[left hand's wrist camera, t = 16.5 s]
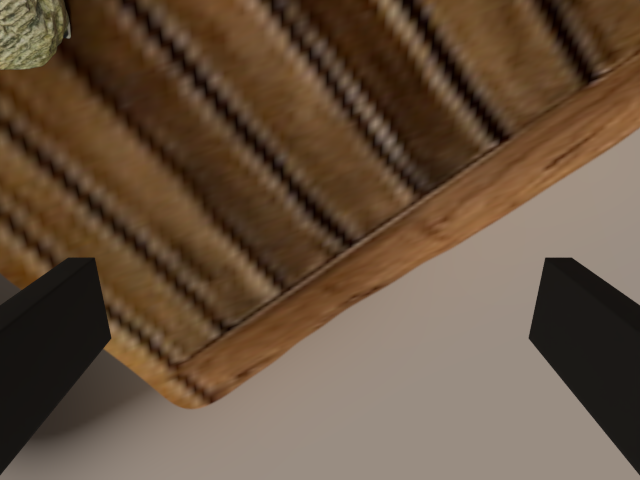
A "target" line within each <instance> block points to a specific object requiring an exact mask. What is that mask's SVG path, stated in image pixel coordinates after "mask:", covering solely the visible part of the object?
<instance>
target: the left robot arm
mask: <svg viewBox="0 0 640 480" xmlns="http://www.w3.org/2000/svg"><path fill="white" fill-rule="evenodd" d="M110 339H111V334H110V329H109V324H108V320H107V315H106V310H105V305H104V300H103V296H102V291H101V286H100V281H99V276H98V271H97V267H96V262H95V258H67V259H66V260H64V261H63V262H61V263H60V264H59V265H57V266H56V267H54V268H53V269H51V270H50V271H49V272H47V273H46V274H44V275H43V276H41V277H40V278H39V279H37V280H36V281H34V282H33V283H31V284H30V285H29V286H27V287H26V288H24V289H23V290H21V291H20V292H19V293H17V294H16V295H14V296H13V297H12V298H10V299H9V300H7V301H6V302H4V303H3V304H2V305H0V475H1V474H2V472H3V471H4V470H5V469H6V467H7V466H8V465H9V464H10V463H11V461H12V460H13V459H14V458H15V456H16V455H17V454H18V453H19V451H20V450H21V449H22V448H23V446H24V445H25V444H26V443H27V442H28V440H29V439H30V438H31V437H32V435H33V434H34V433H35V432H36V431H37V429H38V428H39V427H40V425H41V424H42V423H43V422H44V421H45V419H46V418H47V417H48V416H49V414H50V413H51V412H52V411H53V410H54V408H55V407H56V406H57V405H58V403H59V402H60V401H61V400H62V399H63V397H64V396H65V395H66V393H67V392H68V391H69V390H70V389H71V387H72V386H73V385H74V384H75V382H76V381H77V380H78V379H79V378H80V376H81V375H82V374H83V373H84V371H85V370H86V369H87V368H88V366H89V365H90V364H91V363H92V362H93V360H94V359H95V358H96V357H97V355H98V354H99V353H100V352H101V350H102V349H103V348H104V347H105V346H106V344H107V343H108V342H109V341H110ZM529 339H530V341H531V342H532V343H533V344H534V346H535V347H536V348H537V349H538V350H539V352H540V353H541V354H542V355H543V357H544V358H545V359H546V360H547V362H548V363H549V364H550V365H551V366H552V368H553V369H554V370H555V371H556V373H557V374H558V375H559V376H560V378H561V379H562V380H563V381H564V383H565V384H566V385H567V386H568V387H569V389H570V390H571V391H572V392H573V394H574V395H575V396H576V397H577V399H578V400H579V401H580V402H581V403H582V405H583V406H584V407H585V408H586V410H587V411H588V412H589V413H590V415H591V416H592V417H593V418H594V419H595V421H596V422H597V423H598V424H599V426H600V427H601V428H602V429H603V430H604V432H605V433H606V434H607V435H608V437H609V438H610V439H611V440H612V442H613V443H614V444H615V445H616V447H617V448H618V449H619V450H620V451H621V453H622V454H623V455H624V456H625V458H626V459H627V460H628V461H629V463H630V464H631V465H632V466H633V467H634V469H635V470H636V471H637V472H638V474H639V475H640V305H638V304H637V303H636V302H634V301H633V300H631V299H630V298H628V297H627V296H626V295H624V294H623V293H621V292H620V291H619V290H617V289H616V288H614V287H613V286H611V285H610V284H609V283H607V282H606V281H604V280H603V279H601V278H600V277H599V276H597V275H596V274H594V273H593V272H591V271H590V270H589V269H587V268H586V267H584V266H583V265H581V264H580V263H579V262H577V261H576V260H574V259H573V258H545V262H544V267H543V271H542V276H541V281H540V286H539V291H538V296H537V300H536V305H535V310H534V315H533V320H532V324H531V329H530V334H529Z"/></svg>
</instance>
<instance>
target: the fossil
mask: <svg viewBox="0 0 640 480" xmlns="http://www.w3.org/2000/svg"><path fill="white" fill-rule="evenodd" d="M70 37H71V33H70V23H69V17H68V14H67V11H66V8H65V3H64V0H0V70H3V69H18V70H19V69H30V68H34V67H41V66H43V65H45V64H46V63H47V62H48V61H49V59H50V58H51V57H52V56H53V55H54V54H55V53H56V50H57V46H58V45H59V44H60V43H61V42H62V39H63V38H70Z"/></svg>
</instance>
